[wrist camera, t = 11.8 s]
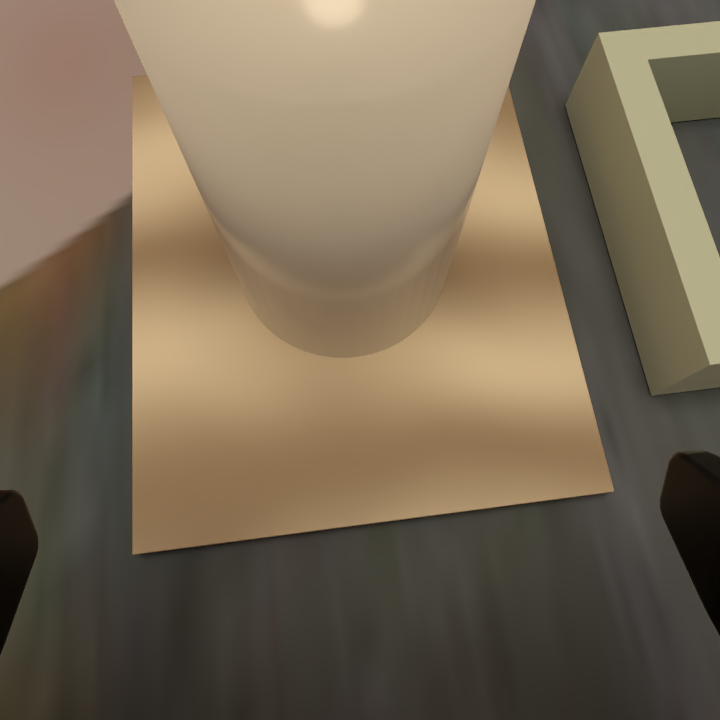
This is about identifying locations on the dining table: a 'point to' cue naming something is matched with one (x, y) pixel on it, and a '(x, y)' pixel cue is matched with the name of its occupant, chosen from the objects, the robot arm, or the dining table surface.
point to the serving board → (347, 377)
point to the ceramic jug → (333, 146)
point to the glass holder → (654, 191)
